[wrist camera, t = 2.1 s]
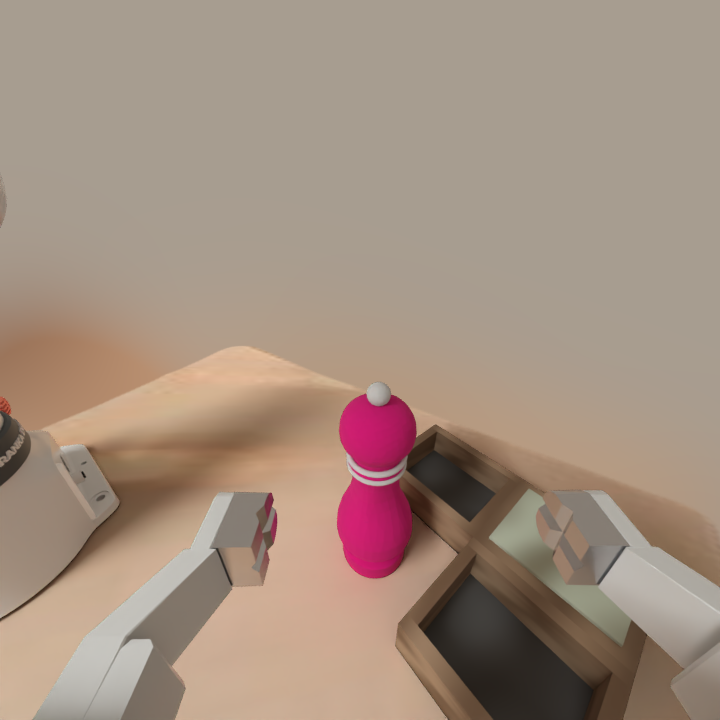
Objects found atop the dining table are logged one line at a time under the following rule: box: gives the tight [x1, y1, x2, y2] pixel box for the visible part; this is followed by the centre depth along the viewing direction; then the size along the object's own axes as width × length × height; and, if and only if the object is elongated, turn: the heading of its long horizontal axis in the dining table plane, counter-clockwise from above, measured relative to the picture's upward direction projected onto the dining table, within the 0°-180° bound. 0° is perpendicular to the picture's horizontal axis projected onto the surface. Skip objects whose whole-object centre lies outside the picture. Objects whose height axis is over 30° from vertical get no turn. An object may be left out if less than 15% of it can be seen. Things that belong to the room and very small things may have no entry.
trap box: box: [395, 424, 647, 720], centre depth 29 cm, size 24×20×4 cm
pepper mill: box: [337, 382, 416, 578], centre depth 27 cm, size 7×7×20 cm
